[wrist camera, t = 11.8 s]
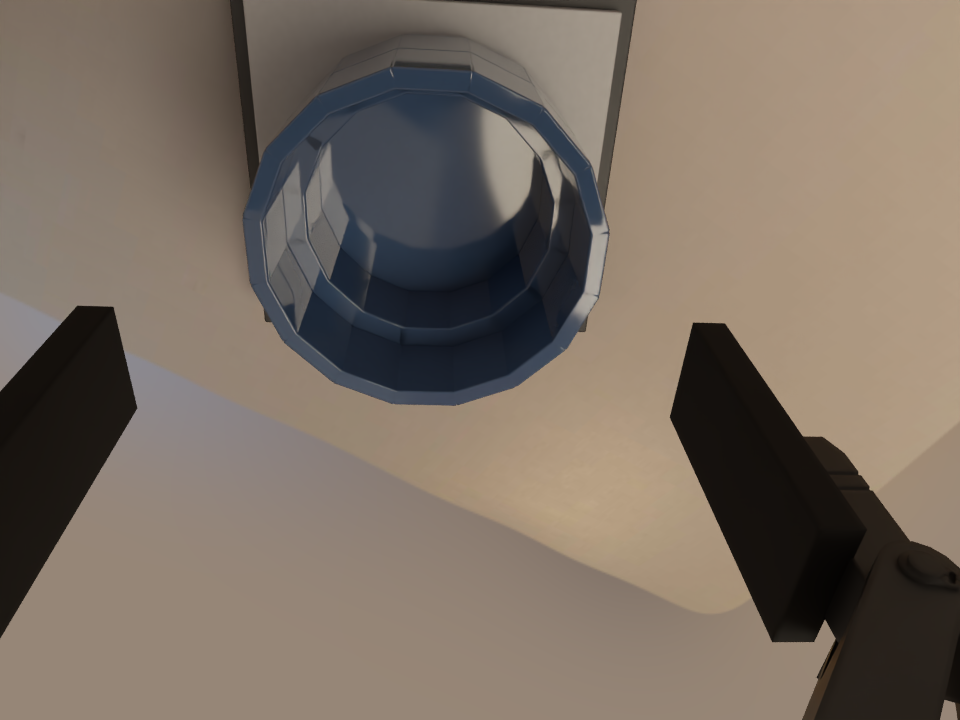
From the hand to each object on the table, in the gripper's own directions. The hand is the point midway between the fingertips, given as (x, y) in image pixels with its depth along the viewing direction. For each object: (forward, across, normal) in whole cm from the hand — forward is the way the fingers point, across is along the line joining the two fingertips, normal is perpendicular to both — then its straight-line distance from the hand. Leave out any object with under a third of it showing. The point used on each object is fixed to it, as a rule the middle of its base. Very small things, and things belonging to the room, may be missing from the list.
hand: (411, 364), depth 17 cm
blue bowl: (+14, 0, 0) cm, 14 cm away
